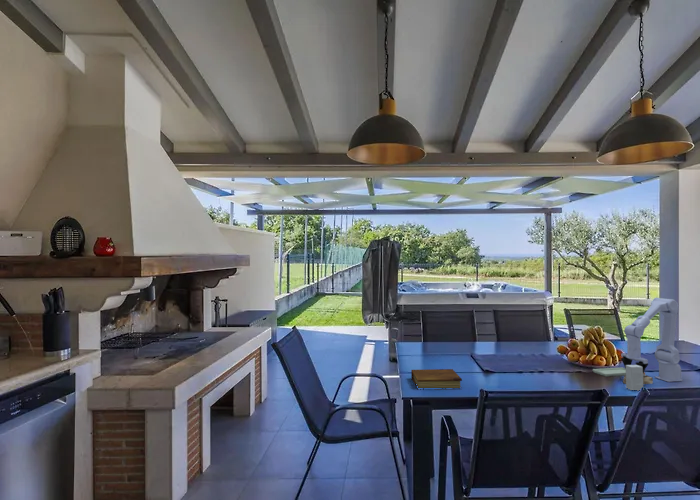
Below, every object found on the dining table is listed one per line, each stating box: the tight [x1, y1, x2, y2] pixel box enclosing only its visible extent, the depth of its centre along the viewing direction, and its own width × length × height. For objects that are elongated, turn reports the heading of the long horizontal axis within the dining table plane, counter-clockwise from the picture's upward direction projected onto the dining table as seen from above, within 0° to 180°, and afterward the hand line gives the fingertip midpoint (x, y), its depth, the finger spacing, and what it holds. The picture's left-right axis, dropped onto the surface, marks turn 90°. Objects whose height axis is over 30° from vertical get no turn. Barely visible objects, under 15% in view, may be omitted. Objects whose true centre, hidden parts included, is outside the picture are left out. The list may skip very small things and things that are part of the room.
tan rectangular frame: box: [622, 374, 654, 385], centre depth 211 cm, size 14×5×3 cm, turn 98°
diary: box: [410, 368, 463, 388], centre depth 213 cm, size 23×19×6 cm
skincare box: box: [625, 364, 644, 392], centre depth 200 cm, size 6×4×12 cm
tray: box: [592, 367, 626, 378], centre depth 228 cm, size 20×10×2 cm, turn 98°
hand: (634, 373), depth 210 cm, fingers open, 7 cm apart
